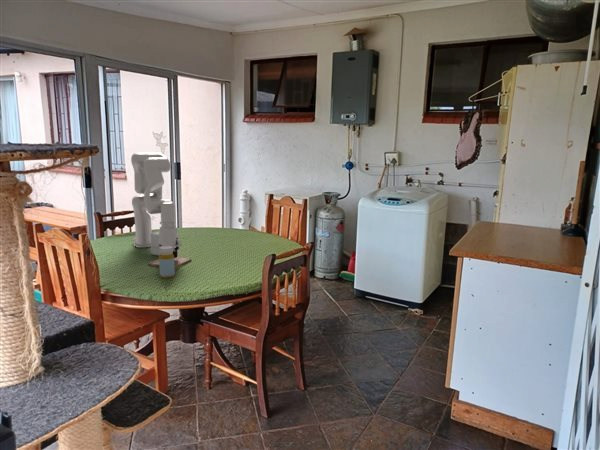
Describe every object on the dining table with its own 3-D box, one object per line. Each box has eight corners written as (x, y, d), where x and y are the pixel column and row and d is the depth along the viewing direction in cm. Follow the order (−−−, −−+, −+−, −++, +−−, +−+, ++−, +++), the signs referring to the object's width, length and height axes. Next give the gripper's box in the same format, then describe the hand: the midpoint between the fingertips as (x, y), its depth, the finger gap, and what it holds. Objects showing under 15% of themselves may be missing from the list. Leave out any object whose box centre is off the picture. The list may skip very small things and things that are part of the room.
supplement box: (169, 252, 248) (168, 231, 245) (161, 255, 241) (160, 234, 238) (159, 251, 250) (158, 230, 247) (151, 254, 243) (149, 233, 241)
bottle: (161, 274, 210) (160, 245, 207) (176, 273, 211) (174, 245, 208) (158, 278, 204) (156, 249, 200) (173, 278, 204) (171, 249, 201)
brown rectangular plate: (148, 265, 223) (147, 256, 222) (167, 257, 238) (167, 248, 237) (173, 269, 218) (172, 259, 217) (191, 261, 233) (191, 252, 231)
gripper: (150, 224, 223) (152, 256, 227) (177, 227, 217) (179, 260, 221) (159, 221, 230) (161, 253, 234) (186, 224, 224) (187, 257, 228)
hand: (170, 256), depth 227 cm, fingers open, 6 cm apart
